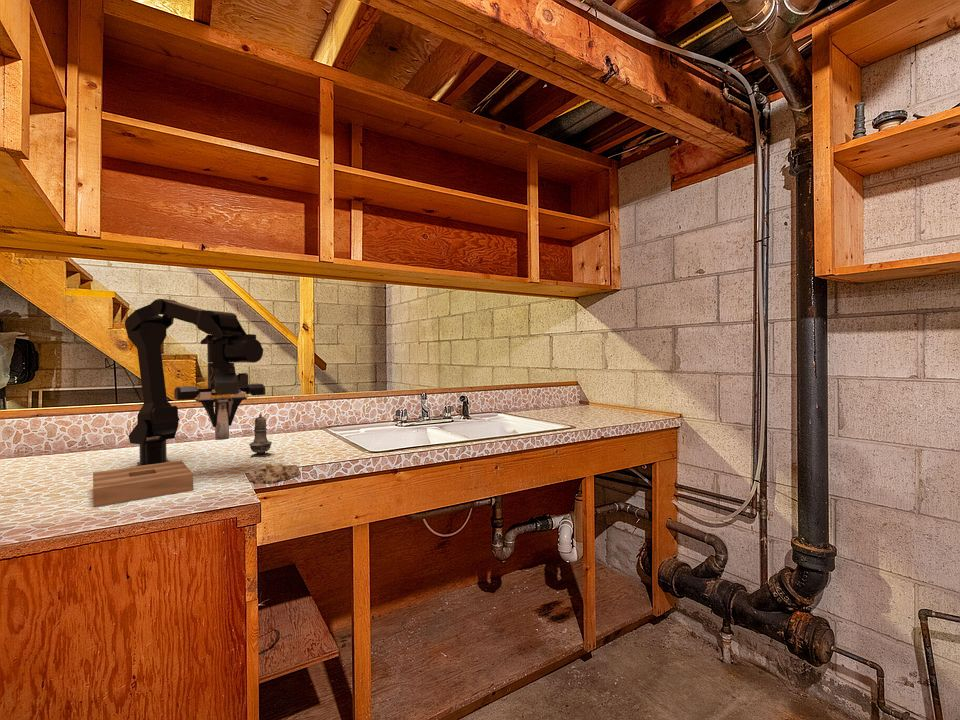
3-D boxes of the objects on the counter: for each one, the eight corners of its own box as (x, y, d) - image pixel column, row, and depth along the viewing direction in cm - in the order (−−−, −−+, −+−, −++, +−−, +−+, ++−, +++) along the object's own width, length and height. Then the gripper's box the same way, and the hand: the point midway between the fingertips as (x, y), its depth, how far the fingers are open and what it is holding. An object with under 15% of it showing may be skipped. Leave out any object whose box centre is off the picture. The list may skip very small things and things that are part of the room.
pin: (211, 438, 110) (210, 398, 110) (229, 436, 113) (228, 397, 112) (214, 441, 107) (214, 399, 107) (233, 438, 110) (232, 398, 109)
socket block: (93, 488, 96) (92, 472, 96) (181, 474, 107) (181, 460, 107) (93, 507, 84) (93, 488, 84) (193, 490, 95) (193, 473, 95)
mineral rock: (255, 477, 97) (247, 461, 103) (253, 495, 98) (245, 478, 104) (305, 470, 104) (295, 455, 110) (303, 487, 105) (293, 471, 111)
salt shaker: (276, 455, 128) (276, 413, 128) (256, 459, 123) (256, 415, 123) (264, 452, 131) (264, 411, 131) (244, 456, 126) (244, 414, 126)
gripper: (180, 363, 97) (181, 435, 98) (271, 362, 110) (272, 426, 110) (173, 363, 106) (174, 429, 106) (258, 362, 118) (259, 421, 118)
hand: (222, 426), depth 110 cm, fingers closed on pin, 3 cm apart
